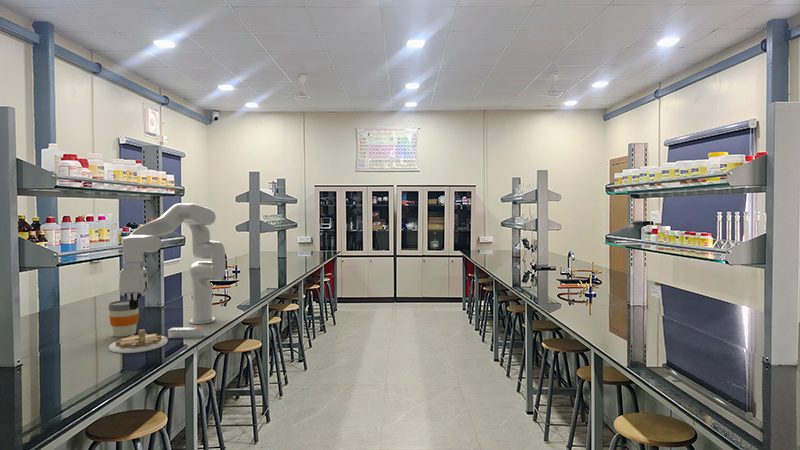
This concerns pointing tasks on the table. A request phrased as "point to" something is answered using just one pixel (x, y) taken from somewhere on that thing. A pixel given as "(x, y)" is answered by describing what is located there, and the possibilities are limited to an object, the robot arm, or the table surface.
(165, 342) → the base plate
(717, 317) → the table surface
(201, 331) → the white rectangular box
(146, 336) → the sprocket wheel
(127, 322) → the reusable coffee cup
